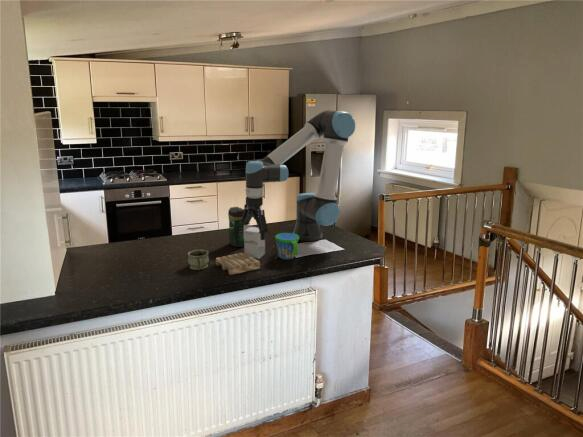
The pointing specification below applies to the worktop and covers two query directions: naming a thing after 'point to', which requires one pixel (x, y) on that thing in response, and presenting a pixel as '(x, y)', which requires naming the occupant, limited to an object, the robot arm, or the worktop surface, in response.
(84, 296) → the worktop surface
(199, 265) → the vessel
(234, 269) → the pallet
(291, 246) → the snack cup
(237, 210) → the coffee jar
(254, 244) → the supplement box
